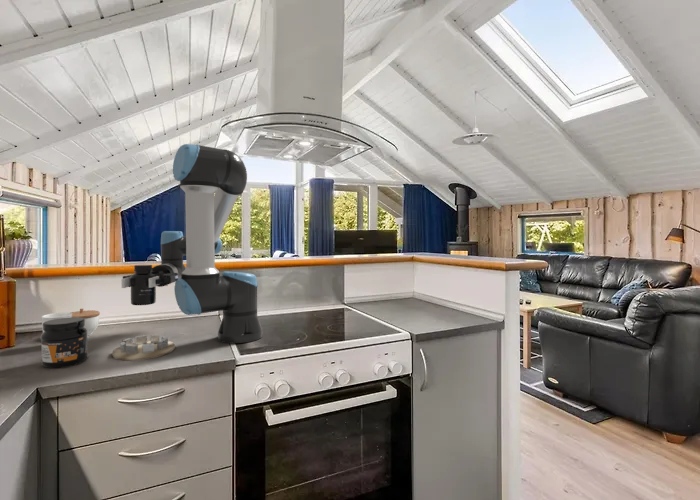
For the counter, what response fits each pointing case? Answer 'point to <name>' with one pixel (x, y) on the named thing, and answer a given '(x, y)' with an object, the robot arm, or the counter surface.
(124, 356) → the seat plate
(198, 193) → the robot arm
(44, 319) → the white cup
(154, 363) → the counter surface
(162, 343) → the castellated ring
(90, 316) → the lidded jar
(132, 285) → the supplement bottle
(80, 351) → the supplement container
